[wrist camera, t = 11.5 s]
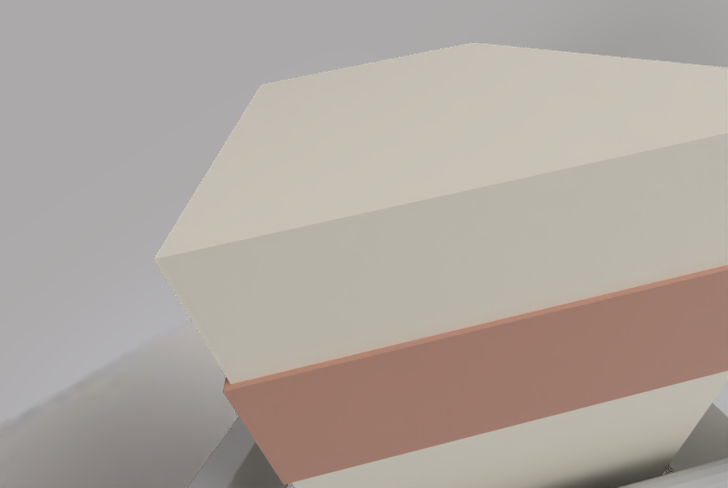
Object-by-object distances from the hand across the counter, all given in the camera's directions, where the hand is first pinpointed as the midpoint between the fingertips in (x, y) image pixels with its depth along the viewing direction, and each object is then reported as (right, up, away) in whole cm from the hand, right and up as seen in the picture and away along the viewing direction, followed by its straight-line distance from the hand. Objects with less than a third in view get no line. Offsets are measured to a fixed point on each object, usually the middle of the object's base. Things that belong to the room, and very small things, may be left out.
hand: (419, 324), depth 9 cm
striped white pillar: (+1, -7, +4) cm, 8 cm away
